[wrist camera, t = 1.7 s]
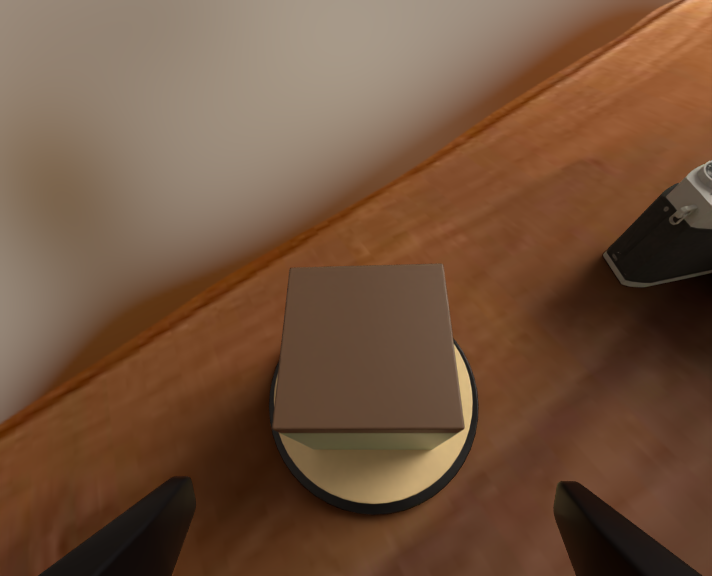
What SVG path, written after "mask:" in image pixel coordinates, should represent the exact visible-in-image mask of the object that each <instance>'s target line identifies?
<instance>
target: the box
mask: <svg viewBox="0 0 712 576" xmlns="http://www.w3.org/2000/svg"><path fill="white" fill-rule="evenodd" d="M472 403H473V401H472V388H471V384H470V379H469V375H468V372H467V369H466V366H465V363H464V361H463V359H462V357H461V355H460V353H459V351H458V350H457V348H456V347H455V345H454V341H453V334H452V326H451V319H450V311H449V303H448V296H447V288H446V281H445V273H444V266H443V264H409V265H373V266H337V267H301V268H290V271H289V280H288V289H287V298H286V307H285V316H284V325H283V334H282V343H281V352H280V361H279V370H278V375H277V379H276V384H275V391H274V414H273V423H272V429H273V430H275V431H277V432H279V435H280V437H281V440H282V443H283V445H284V447H285V449H286V451H287V453H288V455H289V456H290V458H291V459H292V460H293V462H294V463H295V465H296V466H297V467H298V468H299V470H300V471H301V472H302V473H303V474H304V475H305V476H306V477H307V478H308V479H310V480H311V481H312V482H313V483H314V484H316V485H317V486H318V487H320V488H322V489H323V490H325V491H327V492H328V493H330V494H332V495H335V496H337V497H340V498H342V499H345V500H349V501H353V502H357V503H367V504H381V503H390V502H395V501H399V500H403V499H406V498H408V497H411V496H413V495H416V494H418V493H420V492H421V491H423V490H425V489H426V488H428V487H430V486H431V485H432V484H433V483H435V482H436V481H437V480H438V479H440V478H441V477H442V476H443V475H444V474H445V472H446V471H447V470H448V469H449V468H450V467H451V466H452V464H453V463H454V461H455V460H456V458H457V457H458V455H459V453H460V451H461V449H462V447H463V445H464V443H465V441H466V438H467V435H468V432H469V428H470V423H471V418H472Z"/></svg>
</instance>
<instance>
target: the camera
mask: <svg viewBox="0 0 712 576" xmlns="http://www.w3.org/2000/svg"><path fill="white" fill-rule="evenodd" d="M603 257H604V258H605V260H606V261H607V263H608V264H609V266H610V267H611V269H612V270H613V272H614V273H615V275H616V276H617V278H618V280H619V281H620V283H621V284H623V285H626V286H631V287H648V286H653V285H658V284H662V283H667V282H672V281H677V280H682V279H686V278H691V277H695V276H700V275H705V274H709V273H712V160H711V161H709V162H707V163H706V164H703V165H701V166H699V167H697V168H696V169H694V170H693V171H691V172H690V173H689V174H688V175H687V176H686V177H685V178H684V179H683V180H682V181H681V182H680V183H677V184H675V185H673V186H671V187H670V188H668V189H667V190H665V191H664V192H663V193H662V194H661V195H660V196H659V197H658V198H657V199H656V200H655V201H654V202H653V203H652V204H651V205H650V206H649V207H648V208H647V209H646V210H645V211H644V213H643V214H642V215H641V216H640V217H639V218H638V219H637V220H636V221H635V222H634V223H633V224H632V225H631V226H630V227H629V228H628V229H627V230H626V231H625V232H624V233H623V234H622V235H621V236H620V237H619V238H618V239H617V240H616V241H615V242H614V243H613V244H612V245H611V246H610V247H609V248H608V250H607V251H606V252H605V253H604V254H603Z"/></svg>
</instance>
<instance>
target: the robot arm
mask: <svg viewBox="0 0 712 576" xmlns="http://www.w3.org/2000/svg"><path fill="white" fill-rule="evenodd" d="M195 508H196V499H195V495H194V490H193V485H192V481H191V478H190V477H188V476H174V477H172V478H170V479H169V480H167V481H166V482H165V483H163V484H162V485H161V486H159V487H158V488H156V489H155V490H154V491H152V492H151V493H150V494H148V495H147V496H146V497H144V498H143V499H142V500H140V501H139V502H137V503H136V504H135V505H133V506H132V507H131V508H129V509H128V510H127V511H125V512H124V513H123V514H121V515H120V516H118V517H117V518H116V519H114V520H113V521H112V522H110V523H109V524H108V525H106V526H105V527H104V528H102V529H101V530H99V531H98V532H97V533H95V534H94V535H93V536H91V537H90V538H89V539H87V540H86V541H85V542H83V543H82V544H80V545H79V546H78V547H76V548H75V549H74V550H72V551H71V552H70V553H68V554H67V555H66V556H64V557H63V558H61V559H60V560H59V561H57V562H56V563H55V564H53V565H52V566H51V567H49V568H48V569H47V570H45V571H44V572H42V573H41V574H40V575H38V576H171V575H172V572H173V570H174V567H175V564H176V562H177V559H178V556H179V553H180V551H181V548H182V545H183V543H184V540H185V537H186V534H187V532H188V529H189V526H190V523H191V521H192V518H193V515H194V512H195ZM554 516H555V520H556V523H557V525H558V528H559V531H560V533H561V536H562V539H563V542H564V544H565V547H566V550H567V552H568V555H569V558H570V560H571V563H572V566H573V568H574V571H575V574H576V576H702V575H701V574H699V573H698V572H697V571H696V570H694V569H693V568H692V567H690V566H689V565H688V564H686V563H685V562H684V561H682V560H681V559H680V558H678V557H677V556H676V555H674V554H673V553H672V552H670V551H669V550H668V549H666V548H665V547H664V546H662V545H661V544H660V543H658V542H657V541H656V540H654V539H653V538H652V537H650V536H649V535H648V534H646V533H645V532H644V531H642V530H641V529H640V528H638V527H637V526H636V525H634V524H633V523H632V522H630V521H629V520H628V519H626V518H625V517H624V516H623V515H621V514H620V513H619V512H617V511H616V510H615V509H613V508H612V507H611V506H609V505H608V504H607V503H605V502H604V501H603V500H601V499H600V498H599V497H597V496H596V495H595V494H593V493H592V492H591V491H589V490H588V489H587V488H585V487H584V486H583V485H581V484H580V483H578V482H575V481H560V482H559V483H558V484H557V488H556V495H555V501H554Z"/></svg>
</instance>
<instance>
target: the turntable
mask: <svg viewBox="0 0 712 576" xmlns="http://www.w3.org/2000/svg"><path fill="white" fill-rule="evenodd" d="M453 341H454V345H455V347H456V348H457V350H458V351H459V353H460V355H461V357H462V359H463V361H464V363H465V366H466V369H467V372H468V375H469V379H470V384H471V388H472V401H473V403H472V418H471V423H470V428H469V432H468V435H467V438H466V441H465V443H464V445H463V447H462V449H461V451H460V453H459V455H458V457H457V458H456V460H455V461H454V463H453V464H452V466H451V467H450V468H449V469H448V470H447V471H446V472H445V474H444V475H443V476H442V477H441V478H440V479H438V480H437V481H436V482H435V483H433V484H432V485H431V486H430V487H428V488H426V489H425V490H423V491H421V492H420V493H418V494H416V495H413V496H411V497H408V498H406V499H403V500H399V501H395V502H390V503H381V504H367V503H357V502H353V501H349V500H345V499H342V498H340V497H337V496H335V495H332V494H330V493H328V492H327V491H325V490H323V489H322V488H320V487H318V486H317V485H316V484H314V483H313V482H312V481H311V480H310V479H308V478H307V477H306V476H305V475H304V474H303V473H302V472H301V471H300V470H299V468H298V467H297V466H296V465H295V463H294V462H293V460H292V459H291V458H290V456H289V455H288V453H287V451H286V449H285V447H284V445H283V443H282V440H281V437H280V435H279V432H277V431H275V430H273V429H272V433H273V437H274V440H275V443H276V446H277V449H278V451H279V453H280V455H281V457H282V459H283V461H284V462H285V464H286V465H287V467H288V468H289V470H290V471H291V473H292V474H293V475H294V476H295V478H296V479H297V480H298V481H299V482H300V483H301V484H302V485H303V486H304V487H305V488H306V489H307V490H309V491H310V492H311V493H312V494H314V495H315V496H316V497H318V498H320V499H321V500H323V501H325V502H326V503H328V504H330V505H333V506H335V507H337V508H340V509H342V510H346V511H350V512H354V513H359V514H370V515H379V514H391V513H395V512H400V511H404V510H407V509H409V508H412V507H415V506H417V505H420V504H421V503H423V502H425V501H426V500H428V499H430V498H432V497H433V496H434V495H436V494H437V493H438V492H439V491H441V490H442V489H443V488H444V487H445V486H446V485H447V484H448V483H449V482H450V481H451V480H452V479H453V478H454V477H455V475H456V474H457V472H458V471H459V470H460V468H461V467H462V465H463V464H464V462H465V460H466V458H467V456H468V454H469V452H470V450H471V447H472V444H473V440H474V437H475V434H476V428H477V422H478V394H477V388H476V384H475V379H474V376H473V373H472V370H471V367H470V365H469V363H468V361H467V359H466V357H465V355H464V353H463V351H462V350H461V348H460V347H459V345H458V344H457V342H456V341H455V340H454V339H453ZM279 361H280V360H279ZM278 370H279V362H278V364H277V366H276V369H275V372H274V376H273V379H272V384H271V389H270V399H269V413H270V423H271V428H272V423H273V414H274V391H275V384H276V379H277V375H278Z"/></svg>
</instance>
